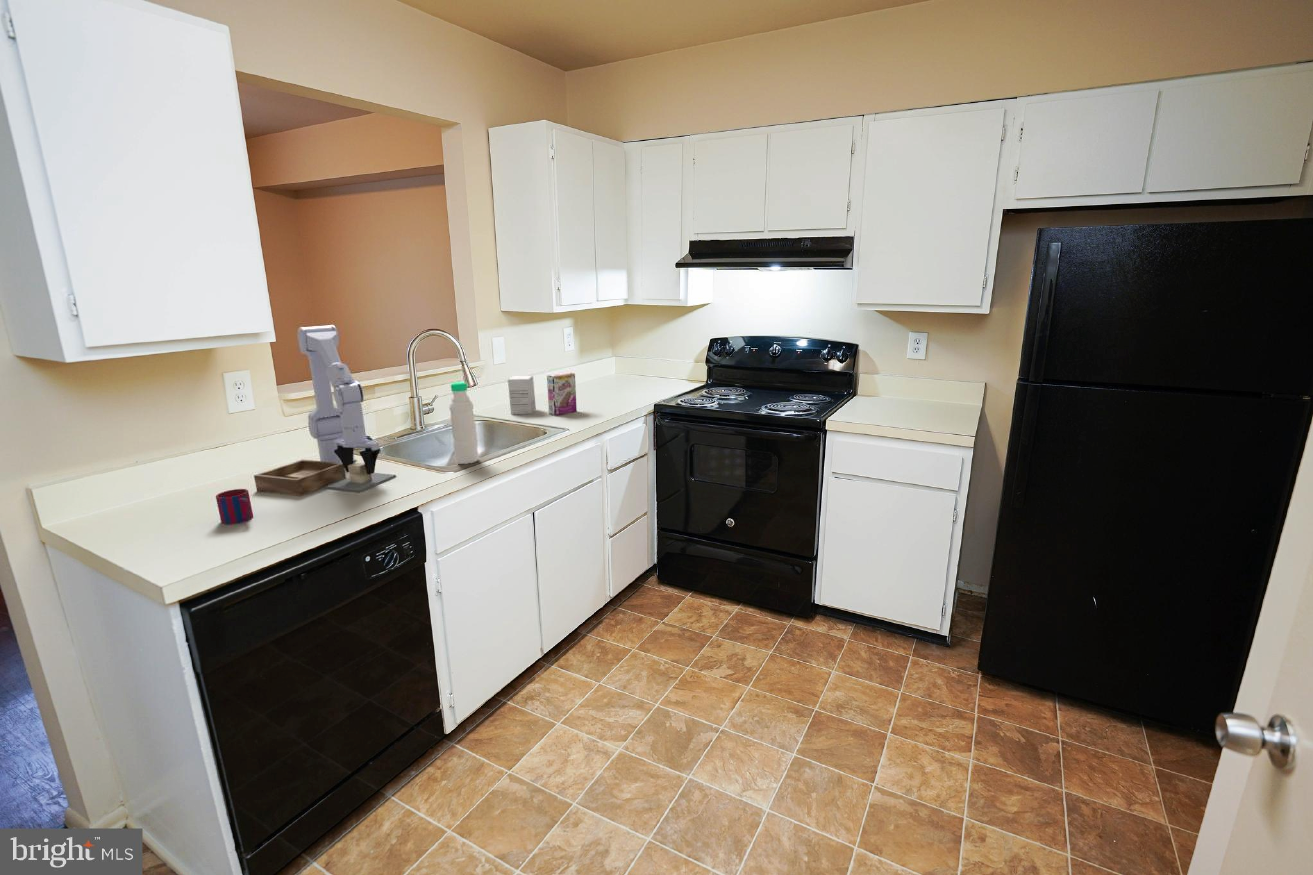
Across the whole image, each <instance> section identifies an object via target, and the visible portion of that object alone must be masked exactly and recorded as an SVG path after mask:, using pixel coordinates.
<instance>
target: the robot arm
mask: <svg viewBox="0 0 1313 875" xmlns="http://www.w3.org/2000/svg"><path fill="white" fill-rule="evenodd" d="M297 342H298V347H299V350H300V353H301V354H303V355H306V356H307V359H308V362H309V369H310V373H311V374H310V375H311V379H312V380H311V381H312V385H313V393H314V399H315V404H316V407H315V408H313V410H311V412H309V413H308V416H307V420H308V423H307V424H308V431H309V434H310V436H311V438H313V439H315V440H316V442H317V447H318V448H317V449H318V454H319V460H320V461H324V462H334V463H342V464H343V466H344V469H345V473H349V470H348V465H350V464H353V463H354V462H355V461H356V462H357V458H355V453H354V451H355V449H359V450H361V449H362V451H359V455H360V457H361V458H362V460H363V461H362V462H364V464H365V468H366V472H367V474H368V475H370V474H372V473H376V472H375V470H376V463H377V459H378V456H379V453H380V451H381V449H380V444H379V441H373V440H369V439H368V438H367V433H366V426H365V420H364V413H363V412H364V411H363V407H362V405H363V404H362V403H363V402H364V399H365V398H364V392H363V388H362V386H361V383H360V382H358V380H356V379H354V376H353V375H352V373H351V372H350V369H349V367H348V365H347V364H345V363H342V361H341V358H340V355H339V353H338V349H337V348H338V347H339V346H338V345H339V342H340V336H339V332H338V329H337V327H336V326H335V325H334V324H330V325H329V324H328V325H316V326H306V327H305V326H300V327H299V328H298V329H297ZM331 386H332V388H331ZM332 389H333V393H332ZM333 397H334V398H333ZM334 401H335V403H336V406H335V405H334Z"/></svg>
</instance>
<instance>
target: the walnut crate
mask: <svg viewBox="0 0 1313 875" xmlns="http://www.w3.org/2000/svg"><path fill="white" fill-rule="evenodd" d="M253 477H254V478H253V479H254V483H255V488H256V491H257V492H265V493H271V494H272V493H273V494H280V495H288V496H295V497H298V496H299V497H301V496H304V495H306V494H308V493H311V492H314V491H317V490H319V489H321V488H325V487H326V486H328V485H331V484H333V483H336V482H339V481H341V480H344V479H346V478H347V476H346V470H345V468H344V466H343V464H342V463H334V462H324V461H319V460H314V459H313V460H312V459H300V460H296V461H294V462H291V463H288V464H285V465H281V466H278V467H276V468H273V469H269V470H267V471H263V472H260V473H258V474H255V475H253Z"/></svg>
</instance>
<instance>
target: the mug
mask: <svg viewBox="0 0 1313 875" xmlns="http://www.w3.org/2000/svg"><path fill="white" fill-rule="evenodd" d="M249 492H250V491H249V490H248V489H247V488H237V489H236V488H235V489H230V490H226V491H222V492H219V493H217V494H216V495H215V499H216V503H217V504H216V505H217V510H218V513H219V518H220V523H221V524H223V525H235V524H236V523H237V524H241V523H244V521H245V522H248V521H250V520H252V519H253V517H254V514H253V508H252V503H251V499H250V493H249ZM249 519H250V520H249ZM240 522H241V523H240Z"/></svg>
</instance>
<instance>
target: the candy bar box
mask: <svg viewBox="0 0 1313 875" xmlns="http://www.w3.org/2000/svg"><path fill="white" fill-rule="evenodd" d="M546 380H547V382H546V383H547V385H546V386H547V399H548V400H547V401H548V402H547V403H548V414H549V415H551V416H554V417H555V416H562V415H565V414H566V415H567V414H570V413H571V414H572V413H576V412H577V410H578V409H577V388H576V373H573V372H563V373H557V374H548V375H546Z"/></svg>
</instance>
